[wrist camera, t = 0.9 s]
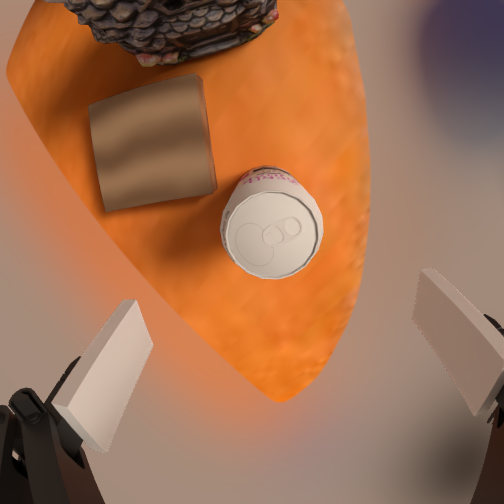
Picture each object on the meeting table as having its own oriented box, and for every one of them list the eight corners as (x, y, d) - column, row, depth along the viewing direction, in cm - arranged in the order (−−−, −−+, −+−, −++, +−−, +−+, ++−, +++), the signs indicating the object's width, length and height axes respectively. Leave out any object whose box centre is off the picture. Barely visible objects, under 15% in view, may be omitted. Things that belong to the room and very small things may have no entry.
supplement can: (254, 239, 37) (251, 301, 23) (222, 184, 34) (197, 214, 20) (311, 211, 35) (342, 259, 21) (281, 153, 33) (297, 161, 19)
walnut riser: (103, 107, 30) (88, 105, 27) (202, 79, 29) (195, 72, 26) (119, 204, 35) (105, 212, 32) (217, 187, 34) (212, 193, 31)
